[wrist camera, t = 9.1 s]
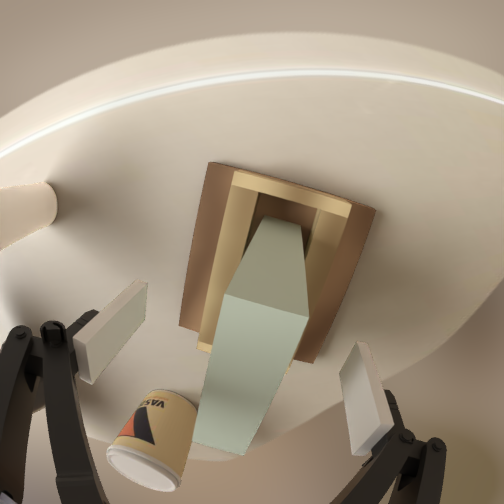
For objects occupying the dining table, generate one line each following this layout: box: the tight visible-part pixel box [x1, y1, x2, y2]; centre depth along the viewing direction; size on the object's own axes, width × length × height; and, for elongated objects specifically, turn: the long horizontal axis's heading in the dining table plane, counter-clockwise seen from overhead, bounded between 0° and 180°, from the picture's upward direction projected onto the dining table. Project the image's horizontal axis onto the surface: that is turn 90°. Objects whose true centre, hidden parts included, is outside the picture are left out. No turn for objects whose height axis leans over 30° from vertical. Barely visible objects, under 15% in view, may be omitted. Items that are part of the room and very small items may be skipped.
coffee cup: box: [107, 390, 197, 492], centre depth 28 cm, size 9×9×12 cm
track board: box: [179, 162, 376, 374], centre depth 24 cm, size 14×16×4 cm
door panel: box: [192, 215, 309, 456], centre depth 18 cm, size 3×10×14 cm, turn 166°
